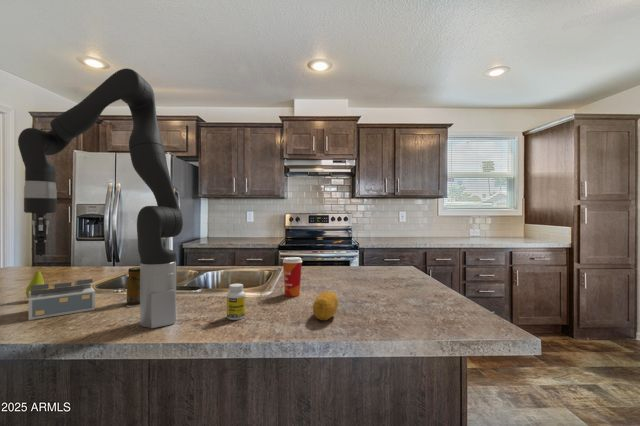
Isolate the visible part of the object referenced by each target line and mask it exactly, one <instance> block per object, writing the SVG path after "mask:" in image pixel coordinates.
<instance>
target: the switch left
mask: <svg viewBox="0 0 640 426" xmlns="http://www.w3.org/2000/svg"><path fill="white" fill-rule="evenodd" d="M49 286H50V285H49V283H44V284H41V285H32V286H31V291H33V290H41V289H50V288H49Z"/></svg>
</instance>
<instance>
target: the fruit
mask: <svg viewBox="0 0 640 426" xmlns="http://www.w3.org/2000/svg"><path fill="white" fill-rule="evenodd" d="M41 269H42V265H40V266H39V270H38V271H36V272H35V274H34V275H33V277H32V279H31V281H30V282H29V284H28V286H27V287H26V290H25V294H26V295H25V296H26V297H27V298H28V299H29V292H31V286H32V285H41V284H45V281H44V277H43V274H42V272H41ZM41 290H44V289H41ZM33 291H36V290H33Z"/></svg>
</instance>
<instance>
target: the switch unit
mask: <svg viewBox="0 0 640 426" xmlns="http://www.w3.org/2000/svg"><path fill="white" fill-rule="evenodd" d="M94 310H96V290H95V289H94V288H93V286H92V283H90V284H85V285H76V286H74V285H73V286H72V285H71V286H68V287H60V288H54V287H53V288H48V289H44V290H36V291H31V292H29V298H28V321H32V320H38V319H44V318H50V317H58V316H64V315H69V314H76V313H83V312H87V311H88V312H89V311H94Z"/></svg>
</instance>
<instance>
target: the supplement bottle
mask: <svg viewBox="0 0 640 426" xmlns="http://www.w3.org/2000/svg"><path fill="white" fill-rule="evenodd" d="M228 288H229V292H228V293H227V294H226V318H227V319H228V320H231V321H236V320H242V319H244V318H245V317H246V292H245V291H243V290H244V284H242V283H232V284H229V286H228Z"/></svg>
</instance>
